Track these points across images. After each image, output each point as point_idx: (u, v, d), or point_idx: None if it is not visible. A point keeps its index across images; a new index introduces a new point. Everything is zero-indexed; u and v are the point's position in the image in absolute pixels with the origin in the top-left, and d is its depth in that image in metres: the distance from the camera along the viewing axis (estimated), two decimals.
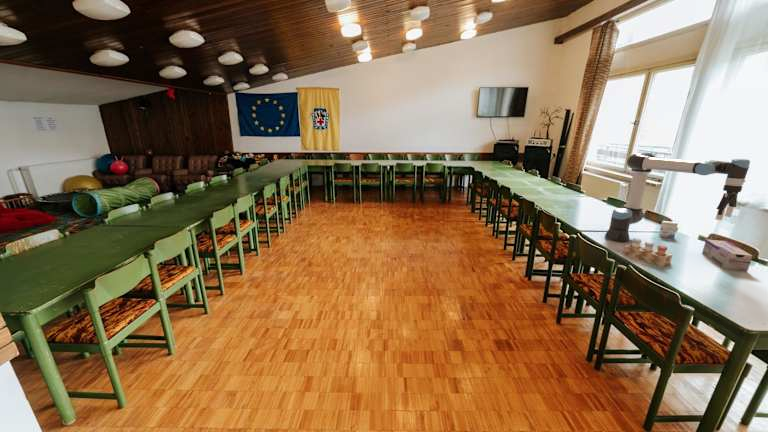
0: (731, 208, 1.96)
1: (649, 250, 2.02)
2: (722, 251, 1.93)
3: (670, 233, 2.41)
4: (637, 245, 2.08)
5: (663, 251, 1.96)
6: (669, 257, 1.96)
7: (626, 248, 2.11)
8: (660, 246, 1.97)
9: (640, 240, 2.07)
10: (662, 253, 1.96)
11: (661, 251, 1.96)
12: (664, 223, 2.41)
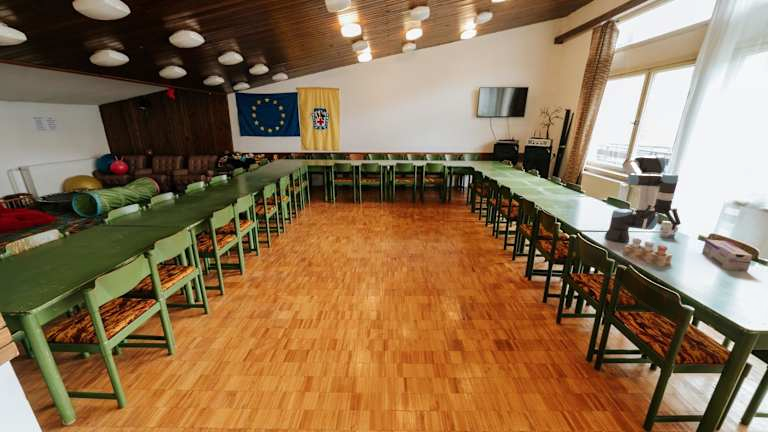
0: None
1: (649, 250, 2.02)
2: (722, 251, 1.93)
3: None
4: (637, 245, 2.08)
5: (663, 251, 1.96)
6: (669, 257, 1.96)
7: (626, 248, 2.11)
8: (660, 246, 1.97)
9: (640, 240, 2.07)
10: (662, 253, 1.96)
11: (661, 251, 1.96)
12: (664, 223, 2.41)
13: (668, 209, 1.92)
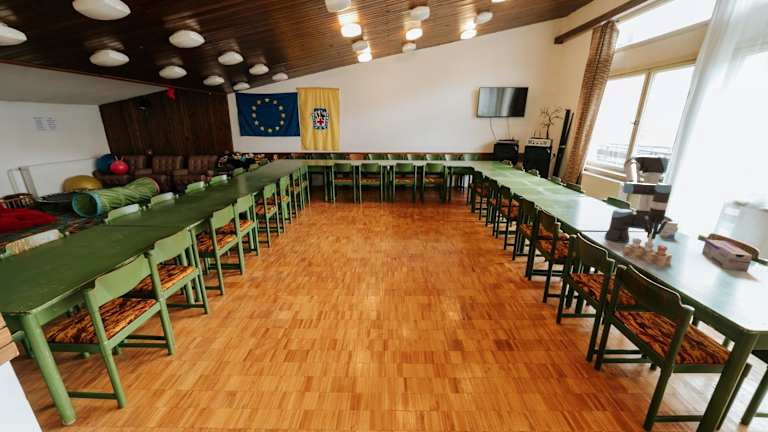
0: None
1: (649, 251, 2.02)
2: (722, 251, 1.93)
3: (670, 233, 2.41)
4: (637, 245, 2.08)
5: (663, 251, 1.96)
6: (669, 257, 1.96)
7: (626, 248, 2.11)
8: (660, 246, 1.97)
9: (640, 240, 2.07)
10: (662, 253, 1.96)
11: (661, 251, 1.96)
12: None
13: (661, 218, 1.94)
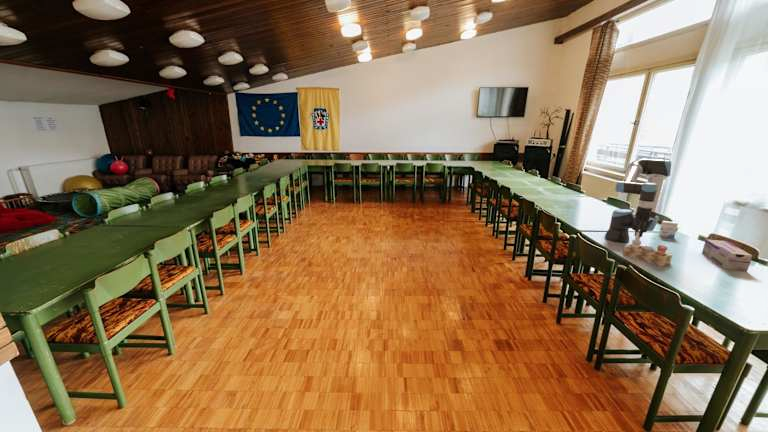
0: None
1: None
2: (722, 251, 1.93)
3: (670, 233, 2.41)
4: (637, 247, 2.08)
5: (663, 251, 1.96)
6: (669, 257, 1.96)
7: (626, 248, 2.11)
8: (660, 246, 1.97)
9: (640, 242, 2.08)
10: (662, 253, 1.96)
11: (661, 251, 1.96)
12: (664, 223, 2.41)
13: (648, 216, 2.00)
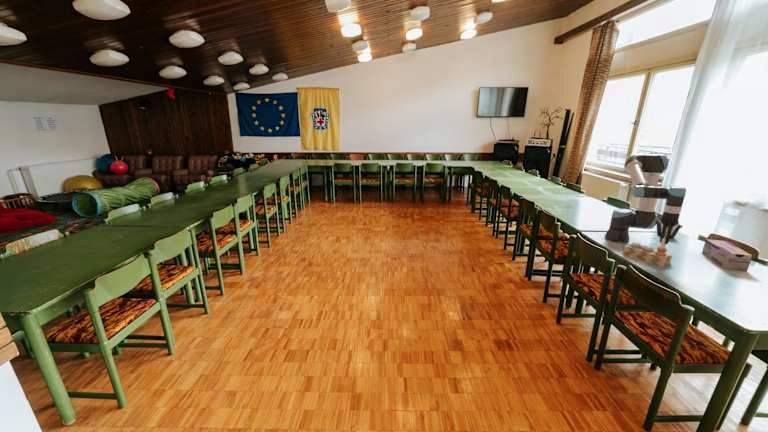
0: None
1: None
2: (722, 251, 1.93)
3: None
4: None
5: (663, 253, 1.96)
6: (669, 257, 1.96)
7: (626, 248, 2.11)
8: (660, 248, 1.97)
9: (639, 244, 2.08)
10: (662, 255, 1.97)
11: (661, 253, 1.97)
12: None
13: (675, 222, 1.88)
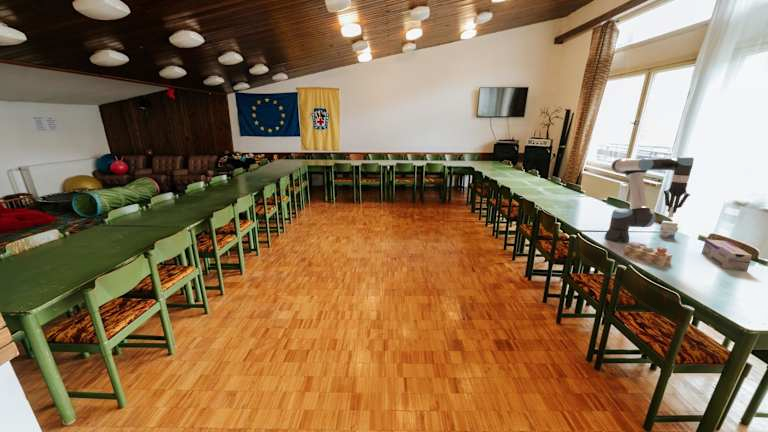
0: None
1: None
2: (722, 251, 1.93)
3: (670, 233, 2.41)
4: None
5: (662, 253, 1.96)
6: (669, 257, 1.96)
7: (626, 248, 2.11)
8: (660, 248, 1.97)
9: (639, 244, 2.08)
10: (662, 255, 1.97)
11: (661, 253, 1.97)
12: (664, 223, 2.41)
13: (683, 191, 1.96)
